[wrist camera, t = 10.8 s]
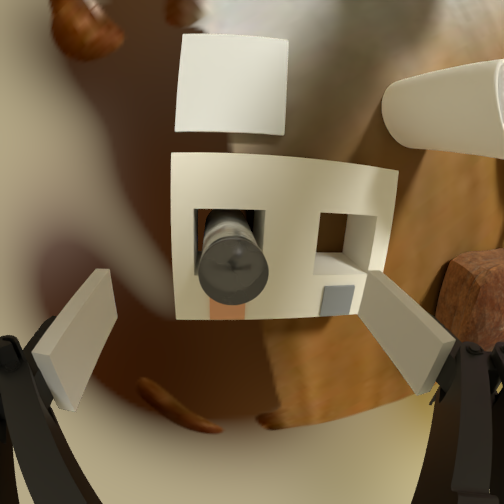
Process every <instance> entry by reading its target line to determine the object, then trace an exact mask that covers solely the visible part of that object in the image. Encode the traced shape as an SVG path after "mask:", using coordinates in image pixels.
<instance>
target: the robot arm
mask: <svg viewBox="0 0 504 504" xmlns="http://www.w3.org/2000/svg"><path fill="white" fill-rule="evenodd" d="M358 316H359V317H360V319H361V320H362V321H363V323H364V324H365V325H366V327H367V328H368V329H369V331H370V332H371V333H372V335H373V336H374V337H375V339H376V340H377V341H378V343H379V344H380V345H381V347H382V348H383V349H384V351H385V352H386V353H387V355H388V356H389V357H390V359H391V360H392V362H393V363H394V364H395V366H396V367H397V368H398V370H399V371H400V373H401V374H402V375H403V377H404V378H405V380H406V381H407V382H408V384H409V385H410V387H411V388H412V390H413V391H414V392H415V394H416V395H421V394H424V393H427V392H430V390H431V389H432V387H433V385H434V383H435V381H436V382H437V383H438V384H439V385H440V386H439V388H438V390H437V391H436V393H435V395H434V396H433V398H432V400H431V401H430V404H429V405H432V403H433V402H434V401H435V405H434V413H433V419H432V425H431V430H430V435H429V440H428V445H427V449H426V454H425V458H424V462H423V466H422V469H421V473H420V477H419V480H418V484H417V487H416V490H415V493H414V496H413V499H412V502H411V504H504V342H497V343H496V344H495V346H494V348H493V350H492V351H484V350H483V348H482V347H481V346H479V345H478V344H476V343H473V342H469V341H466V342H463V343H462V342H461V341H460V340H459V339H458V338H457V337H456V336H455V335H454V334H453V333H452V332H451V331H449V330H448V329H447V328H445V326H444V325H443V324H442V323H440V321H439V320H438V319H437V318H436V317H435V316H433V315H431V314H430V313H428V312H426V311H425V310H424V309H423V308H422V307H421V306H420V305H419V304H417V303H416V302H415V301H414V300H413V299H412V298H411V297H410V296H409V295H407V294H406V293H405V292H404V291H403V290H402V289H401V288H400V287H398V286H397V285H396V284H395V283H394V282H393V281H392V280H390V279H389V278H388V277H387V276H386V275H385V274H384V273H382V272H381V271H380V270H368V273H367V278H366V282H365V287H364V291H363V295H362V299H361V303H360V307H359V311H358ZM117 317H118V316H117V310H116V305H115V300H114V294H113V288H112V281H111V275H110V269H95V271H94V272H93V273H92V274H91V275H90V277H89V278H88V279H87V280H86V281H85V282H84V284H83V285H82V286H81V287H80V289H79V290H78V291H77V292H76V294H75V295H74V296H73V297H72V298H71V299H70V301H69V302H68V303H67V305H66V306H65V307H64V308H63V310H62V311H61V312H60V313H59V315H58V316H52V317H51V318H49V319H47V320H46V321H45V322H44V323H43V324H42V325H41V326H40V328H39V330H38V331H37V332H36V333H35V334H34V336H33V337H32V338H31V340H30V341H29V342H28V344H27V345H26V346H25V348H24V349H23V350H22V348H21V346H20V343H19V341H18V339H17V338H16V337H14V336H11V335H6V336H1V337H0V504H19V499H18V493H17V486H16V479H15V470H14V459H13V448H14V451H15V454H16V457H17V460H18V463H19V466H20V469H21V472H22V474H23V477H24V480H25V482H26V485H27V487H28V490H29V492H30V494H31V497H32V499H33V501H34V504H102V502H101V501H100V499H99V498H98V496H97V495H96V493H95V492H94V490H93V488H92V487H91V485H90V484H89V482H88V480H87V479H86V477H85V475H84V474H83V472H82V470H81V468H80V466H79V464H78V463H77V461H76V459H75V457H74V455H73V453H72V451H71V449H70V447H69V445H68V443H67V441H66V439H65V437H64V435H63V433H62V431H61V429H60V426H59V424H58V422H57V419H56V417H55V415H54V412H53V410H52V408H51V407H50V404H51V402H52V400H53V398H54V400H55V402H56V404H57V406H58V408H60V409H63V410H68V411H72V412H76V410H77V408H78V405H79V403H80V400H81V398H82V395H83V393H84V390H85V388H86V385H87V383H88V381H89V378H90V376H91V374H92V371H93V369H94V367H95V365H96V362H97V360H98V358H99V355H100V353H101V351H102V349H103V347H104V345H105V343H106V340H107V338H108V336H109V334H110V332H111V330H112V328H113V326H114V323H115V322H116V320H117ZM501 382H502V384H503V388H502V389H501V391H500V392H499V394H498V393H497V391H496V389H497V388H498V386H499V385H500V383H501ZM489 489H490V493H489Z"/></svg>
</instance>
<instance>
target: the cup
mask: <svg viewBox="0 0 504 504" xmlns="http://www.w3.org/2000/svg"><path fill="white" fill-rule="evenodd" d="M382 116H383V120H384V123H385V125H386V127H387V129H388V131H389V133H390V134H391V136H392V137H393V138H394V139H395V140H396V141H397V142H398V143H400V144H401V145H403V146H405V147H408V148H414V149H427V150H438V151H448V152H457V153H465V154H473V155H480V156H486V157H493V158H499V159H504V59H500V60H492V61H485V62H479V63H473V64H467V65H462V66H457V67H452V68H447V69H443V70H438V71H434V72H430V73H426V74H422V75H418V76H414V77H410V78H406V79H403V80H399V81H396V82H394V83H392V84H391V85H389V86H388V88H387V89H386V90H385V92H384V95H383V98H382Z"/></svg>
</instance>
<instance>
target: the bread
mask: <svg viewBox="0 0 504 504" xmlns="http://www.w3.org/2000/svg"><path fill="white" fill-rule="evenodd" d="M435 317H436V318H437V319H438V320H439V321H440V323H442V324H443V325H444V326H445V328H447V329H448V330H449V331H451V332H452V333H453V334H454V335H455V336H456V337H457V338H458V339H459V340H460V341H461V342H462V343H463V342H466V341H469V342H473V343H476V344H478V345H479V346H481V347H482V348H483V350H484V351H492V350H493V348H494V346H495V344H496V343H497V342H504V248H498V249H493V250H487V251H470V252H465V253H462V254H460V255H458V256H457V257H455V258H454V259H453V260H451V261H450V263H449V266H448V268H447V271H446V274H445V277H444V280H443V283H442V287H441V290H440V294H439V299H438V303H437V309H436V314H435Z"/></svg>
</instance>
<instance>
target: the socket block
mask: <svg viewBox="0 0 504 504" xmlns="http://www.w3.org/2000/svg"><path fill="white" fill-rule="evenodd" d="M398 174H399V171H397V170H391V169H386V168H380V167H373V166H367V165H360V164H353V163H345V162H338V161H329V160H320V159H311V158H300V157H289V156H275V155H260V154H239V153H171V241H172V265H173V282H174V298H175V311H176V319H177V320H178V319H181V320H248V319H249V320H251V319H283V318H304V317H321V316H336V315H349V314H358V311H359V307H360V303H361V299H362V295H363V291H364V287H365V282H366V278H367V273H368V270H380V271H381V272H382V273H383V269H384V264H385V260H386V255H387V249H388V244H389V238H390V233H391V227H392V220H393V214H394V207H395V200H396V192H397V183H398ZM198 209H246V210H254V227H253V236H254V239H255V241H256V243H257V245H258V247H259V248H260V249H261V251H262V252H263V254H264V256H265V259H266V261H267V264H268V268H269V276H268V281H267V284H266V286H265V288H264V289H263V291H262V292H261V293H260V294H259V295H258V296H257V297H256V298H254V299H253V300H251V301H249V302H247V303H244V304H240V305H225V304H221V303H218V302H216V301H214V300H213V299H211V298H210V297H209V296H208V295H207V294H206V293H205V292H204V291H203V289H202V287H201V285H200V282H199V276H198V271H199V263H200V259H201V256H202V251H198ZM320 212H323V213H340V214H348V216H347V223H346V231H345V238H344V245H343V252H342V253H335V252H316V247H317V238H318V230H319V221H320Z"/></svg>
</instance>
